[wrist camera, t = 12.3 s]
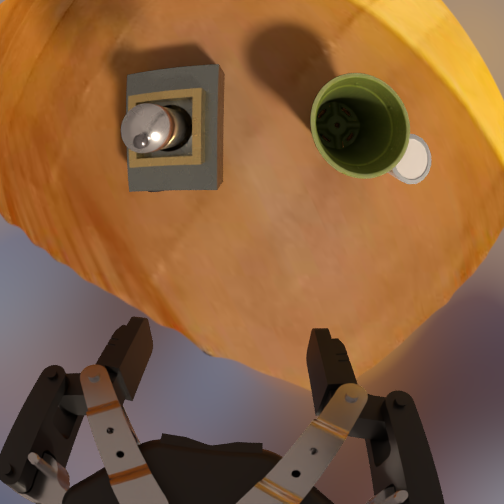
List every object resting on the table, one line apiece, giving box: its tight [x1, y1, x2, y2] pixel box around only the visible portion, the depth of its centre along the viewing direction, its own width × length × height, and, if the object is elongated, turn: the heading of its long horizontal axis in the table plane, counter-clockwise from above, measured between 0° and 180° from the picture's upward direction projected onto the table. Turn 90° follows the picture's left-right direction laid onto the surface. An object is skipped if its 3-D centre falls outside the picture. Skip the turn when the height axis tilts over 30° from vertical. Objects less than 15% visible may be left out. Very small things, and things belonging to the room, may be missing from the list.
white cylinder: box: [387, 134, 431, 184], centre depth 34 cm, size 7×7×7 cm
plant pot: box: [310, 73, 410, 179], centre depth 31 cm, size 12×12×11 cm
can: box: [121, 103, 188, 153], centre depth 27 cm, size 5×5×9 cm
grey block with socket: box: [126, 64, 224, 192], centre depth 33 cm, size 16×12×8 cm
